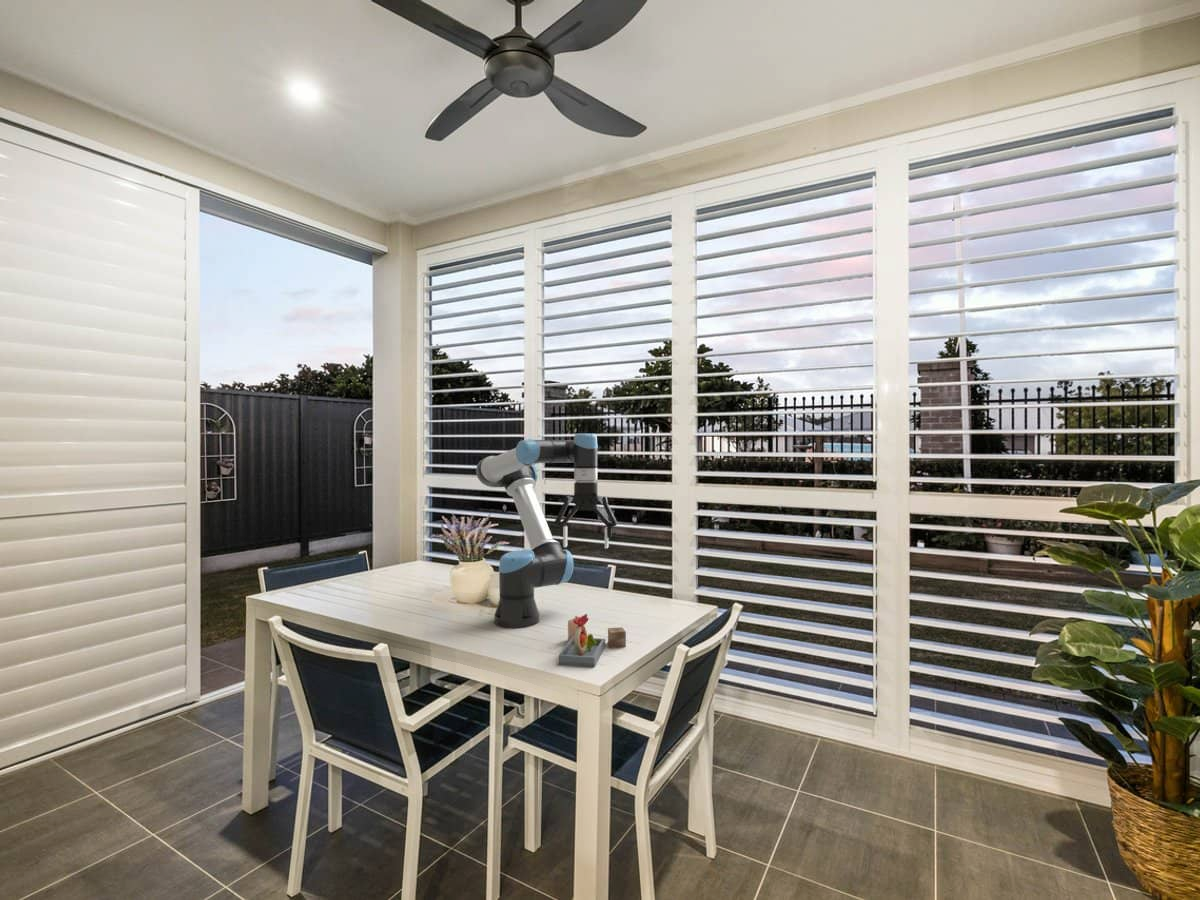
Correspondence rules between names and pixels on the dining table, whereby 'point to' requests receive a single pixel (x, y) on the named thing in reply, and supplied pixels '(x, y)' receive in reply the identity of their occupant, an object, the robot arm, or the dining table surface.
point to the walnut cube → (616, 637)
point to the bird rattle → (582, 636)
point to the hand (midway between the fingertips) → (585, 547)
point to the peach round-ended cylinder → (571, 629)
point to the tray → (587, 659)
